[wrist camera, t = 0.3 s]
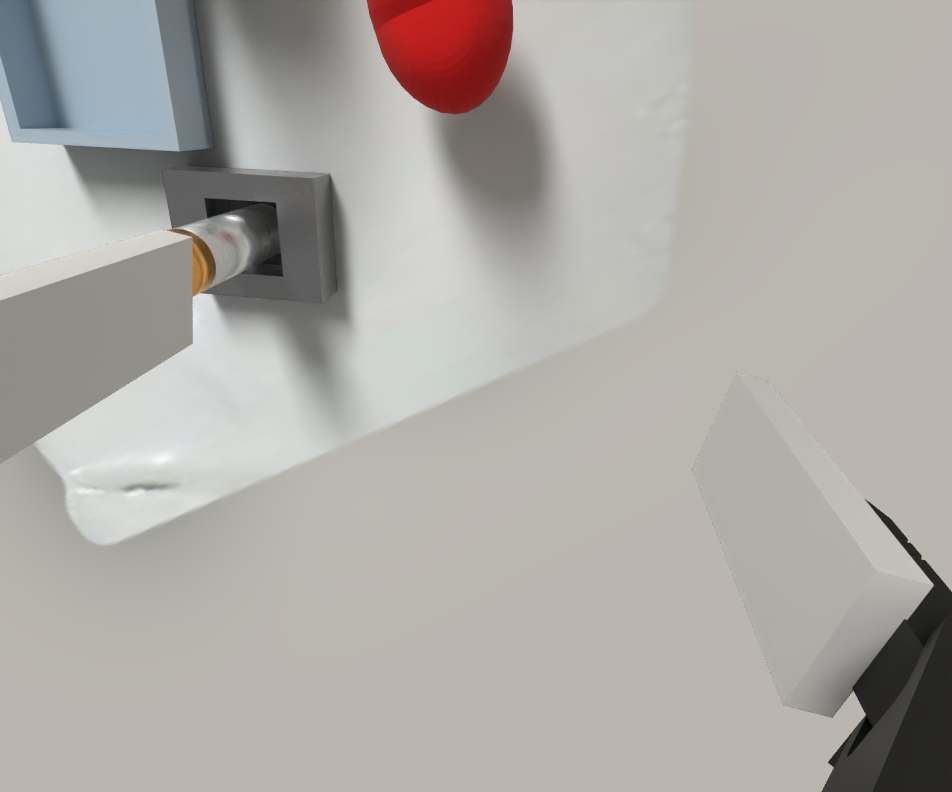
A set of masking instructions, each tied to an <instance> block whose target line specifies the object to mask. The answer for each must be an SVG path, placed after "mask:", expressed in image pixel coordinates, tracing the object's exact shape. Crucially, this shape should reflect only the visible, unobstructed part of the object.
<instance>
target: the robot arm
mask: <svg viewBox="0 0 952 792" xmlns="http://www.w3.org/2000/svg"><path fill="white" fill-rule="evenodd" d="M191 344H193V311H192V237H190V236H186V235H182V234H178V233H174V232H170V231H166V230H162V229H160V230H156V231H153V232H149V233H146V234H142V235H139V236H135V237H132V238H128V239H125V240H121V241H118V242H114V243H111V244H107V245H104V246H100V247H97V248H93V249H90V250H86V251H83V252H79V253H76V254H72V255H69V256H65V257H62V258H58V259H55V260H51V261H48V262H44V263H41V264H37V265H34V266H30V267H27V268H23V269H19V270H16V271H12V272H9V273H5V274H2V275H0V463H2V462H4V461H5V460H7V459H8V458H10V457H12V456H13V455H15V454H16V453H18V452H20V451H21V450H23V449H24V448H26V447H28V446H29V445H31V444H33V443H34V442H36V441H37V440H39V439H41V438H42V437H44V436H45V435H47V434H49V433H50V432H52V431H53V430H55V429H57V428H58V427H60V426H61V425H63V424H65V423H66V422H68V421H69V420H71V419H73V418H74V417H76V416H77V415H79V414H81V413H82V412H84V411H85V410H87V409H89V408H90V407H92V406H93V405H95V404H97V403H98V402H100V401H101V400H103V399H105V398H106V397H108V396H109V395H111V394H113V393H114V392H116V391H117V390H119V389H121V388H122V387H124V386H125V385H127V384H129V383H130V382H132V381H133V380H135V379H137V378H138V377H140V376H141V375H143V374H145V373H146V372H148V371H149V370H151V369H153V368H154V367H156V366H157V365H159V364H161V363H162V362H164V361H165V360H167V359H169V358H170V357H172V356H173V355H175V354H177V353H178V352H180V351H181V350H183V349H185V348H186V347H188V346H189V345H191ZM692 471H693V474H694V476H695V479H696V482H697V484H698V487H699V489H700V492H701V494H702V497H703V500H704V502H705V505H706V507H707V510H708V512H709V515H710V518H711V520H712V523H713V525H714V528H715V531H716V533H717V536H718V538H719V541H720V544H721V546H722V549H723V551H724V554H725V557H726V559H727V562H728V564H729V567H730V569H731V572H732V575H733V577H734V580H735V582H736V585H737V587H738V590H739V592H740V595H741V598H742V600H743V603H744V606H745V608H746V611H747V613H748V616H749V619H750V621H751V624H752V626H753V629H754V631H755V634H756V636H757V639H758V642H759V644H760V647H761V649H762V652H763V655H764V657H765V660H766V663H767V665H768V667H769V670H770V673H771V675H772V678H773V681H774V683H775V686H776V688H777V691H778V693H779V696H780V699H781V701H782V704H783V705H785V706H789V707H792V708H797V709H800V710H804V711H808V712H812V713H816V714H820V715H824V716H828V717H831V718H833V716H834V715H835V714H836V712H837V711H838V710H839V709H840V707H841V706H842V705H843V703H844V702H845V701H846V699H847V698H848V697H849V696H850V694H851V693H852V692H853V691H854V692H855V694H856V696H857V698H858V700H859V702H860V704H861V706H862V708H863V710H864V712H865V714H866V715H865V717H864V718H863V719H862V720H861V722H860V723H859V724H858V726H857V727H856V728H855V729H854V731H853V732H852V733H851V734H850V735H849V737H848V738H847V739H846V740H845V742H844V743H843V744H842V745H841V747H840V748H839V749H838V750H837V752H836V753H835V754H834V755H833V757H832V758H831V759H830V760H829V762H828V763H829V764H831V765H832V766H833V767H834V769H833V771H832V773H831V775H830V776H829V778H828V780H827V782H826V784H825V786H824V788H823V790H822V792H952V592H951V590H950V589H949V588H948V587H947V586H946V584H945V583H944V582H943V581H942V580H941V578H940V577H939V576H938V575H937V574H936V573H935V571H934V570H933V569H932V568H931V566H930V565H929V564H928V563H927V562H926V561H925V560H922V559H921V557H922V556H921V554H920V553H919V552H918V551H917V550H916V548H915V547H914V546H913V545H912V544H911V543H907V541H908V539H907V538H906V536H905V535H904V534H903V533H902V532H901V531H900V529H899V528H898V527H897V526H896V525H895V523H894V522H893V521H892V520H891V519H890V518H889V517H887V516H886V515H885V514H884V513H882V512H881V511H880V510H878V509H877V508H876V507H875V506H873V505H872V504H871V503H870V502H868V501H867V500H865V499H864V498H863V497H862V496H861V494H860V493H859V492H858V491H857V489H856V488H855V487H854V486H853V484H851V482H850V481H849V479H848V478H847V477H846V476H845V475H844V473H843V472H842V471H841V470H840V468H838V466H837V465H836V463H834V461H833V460H832V458H831V457H830V456H829V455H828V453H827V452H826V451H825V450H824V449H823V447H822V446H821V445H820V444H819V443H818V441H817V440H816V439H815V437H814V436H813V435H812V434H811V432H810V431H809V430H808V429H807V428H806V426H805V425H804V424H803V423H802V421H801V420H800V419H799V418H798V416H797V415H796V414H795V413H794V411H793V410H792V409H791V408H790V407H789V405H788V404H787V403H786V402H785V400H784V399H783V398H782V397H781V395H780V394H779V393H778V392H777V390H776V389H775V388H774V387H773V385H771V383H770V382H769V381H768V380H764V379H760V378H756V377H752V376H748V375H744V374H740V373H736V374H735V377H734V379H733V381H732V383H731V385H730V387H729V390H728V392H727V394H726V396H725V398H724V401H723V403H722V405H721V407H720V409H719V411H718V413H717V416H716V418H715V420H714V422H713V424H712V426H711V429H710V431H709V433H708V436H707V437H706V440H705V442H704V444H703V446H702V448H701V450H700V453H699V455H698V457H697V459H696V461H695V464H694V466H693V468H692Z"/></svg>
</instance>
